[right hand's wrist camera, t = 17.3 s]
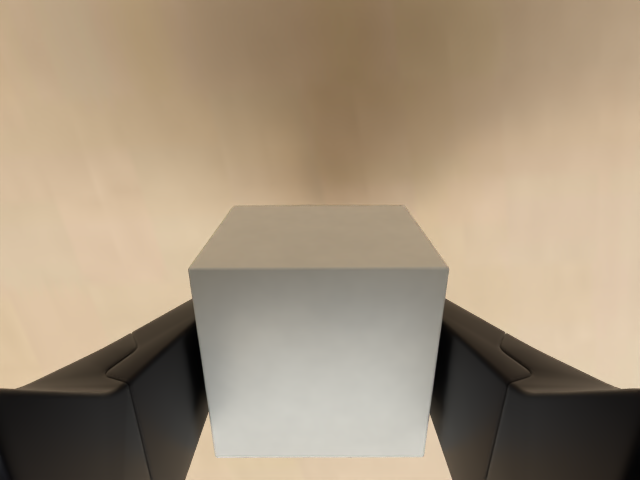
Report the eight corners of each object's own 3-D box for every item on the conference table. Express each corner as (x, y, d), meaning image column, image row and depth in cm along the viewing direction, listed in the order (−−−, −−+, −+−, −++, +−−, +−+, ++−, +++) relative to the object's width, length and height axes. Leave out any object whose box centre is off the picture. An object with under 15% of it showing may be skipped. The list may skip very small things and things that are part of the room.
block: (393, 347, 13) (424, 458, 9) (246, 347, 13) (214, 458, 9) (404, 204, 11) (450, 267, 7) (233, 205, 11) (186, 268, 7)
